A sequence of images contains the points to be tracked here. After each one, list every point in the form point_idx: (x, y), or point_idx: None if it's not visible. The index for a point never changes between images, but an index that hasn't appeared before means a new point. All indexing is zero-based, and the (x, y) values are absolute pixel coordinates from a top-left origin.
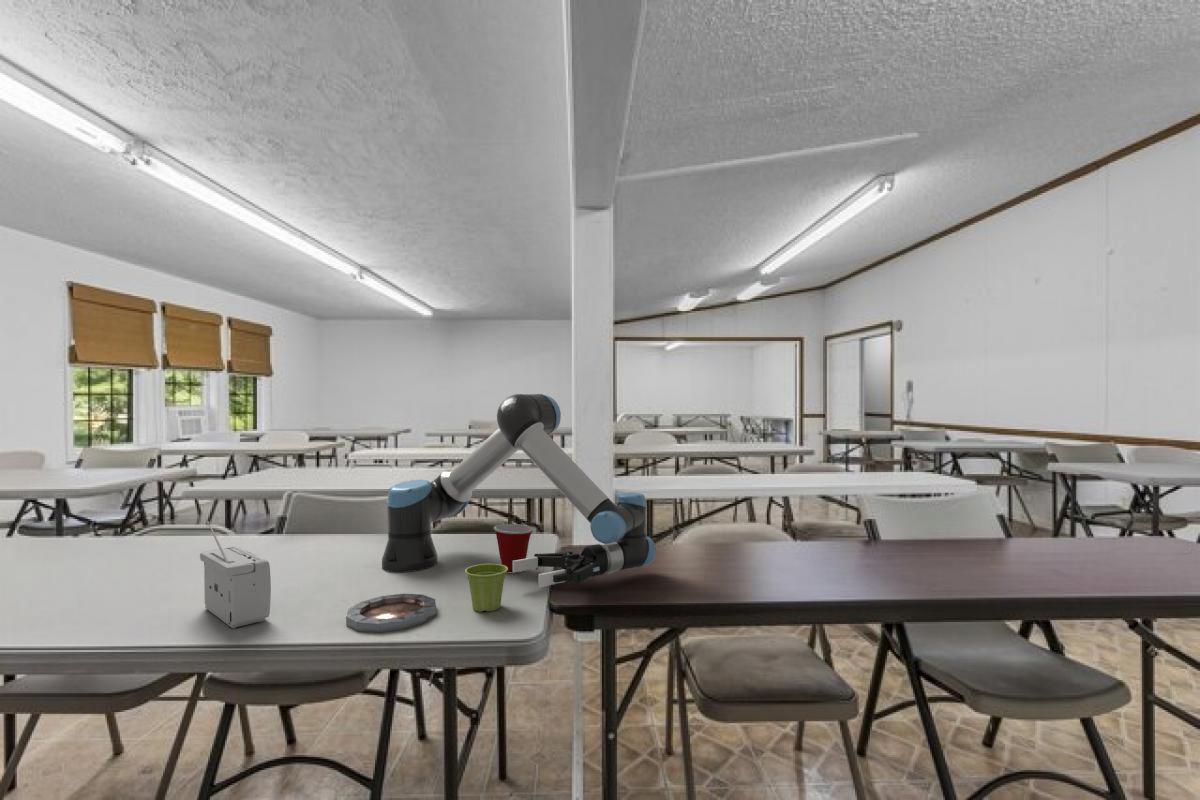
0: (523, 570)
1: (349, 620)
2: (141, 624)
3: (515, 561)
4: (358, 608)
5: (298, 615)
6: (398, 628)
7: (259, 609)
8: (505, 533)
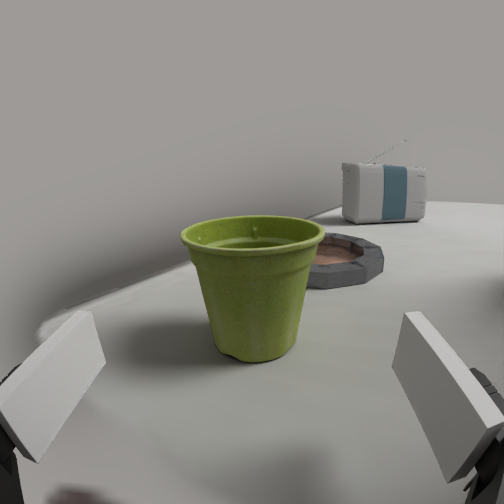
0: (412, 403)
1: None
2: None
3: (407, 318)
4: (332, 236)
5: (364, 232)
6: None
7: (350, 209)
8: None
